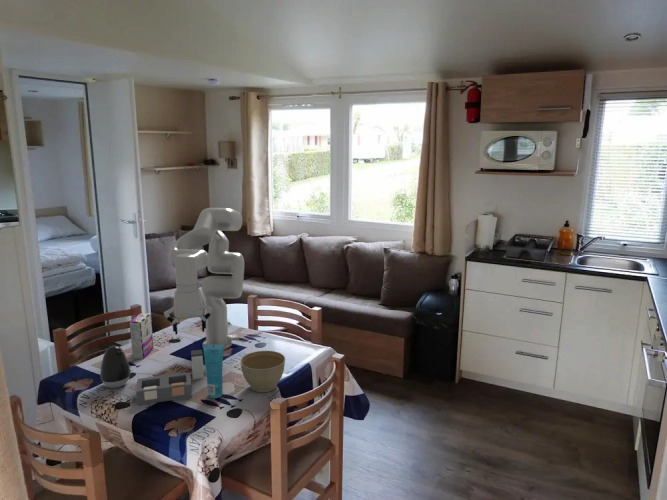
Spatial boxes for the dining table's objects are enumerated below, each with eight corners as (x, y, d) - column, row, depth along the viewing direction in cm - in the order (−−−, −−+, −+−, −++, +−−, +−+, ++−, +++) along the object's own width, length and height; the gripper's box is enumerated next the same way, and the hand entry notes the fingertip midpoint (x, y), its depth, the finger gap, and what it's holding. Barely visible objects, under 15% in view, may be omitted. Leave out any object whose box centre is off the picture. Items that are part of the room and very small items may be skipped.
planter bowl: (249, 375, 191) (249, 349, 189) (290, 378, 189) (290, 352, 186) (234, 395, 176) (233, 366, 174) (278, 399, 173) (278, 370, 171)
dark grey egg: (111, 394, 176) (108, 354, 173) (95, 386, 182) (92, 347, 179) (137, 383, 184) (134, 345, 181) (121, 376, 190) (118, 338, 187)
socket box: (190, 384, 183) (189, 371, 182) (191, 397, 174) (191, 383, 173) (138, 391, 178) (137, 377, 177) (137, 405, 168) (136, 391, 167)
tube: (226, 391, 178) (224, 341, 174) (225, 398, 173) (223, 347, 170) (205, 392, 177) (203, 342, 174) (203, 399, 173) (201, 347, 169)
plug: (203, 373, 192) (201, 349, 190) (203, 378, 189) (202, 353, 187) (192, 375, 191) (191, 350, 189) (192, 379, 187) (191, 354, 185)
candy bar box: (142, 348, 216) (139, 312, 213) (153, 348, 216) (151, 312, 212) (131, 359, 205) (128, 321, 202) (143, 359, 205) (140, 321, 202)
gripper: (211, 283, 186) (213, 325, 190) (162, 286, 181) (165, 330, 185) (212, 288, 179) (214, 332, 183) (162, 292, 174) (165, 338, 178)
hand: (189, 331), depth 184 cm, fingers open, 9 cm apart
